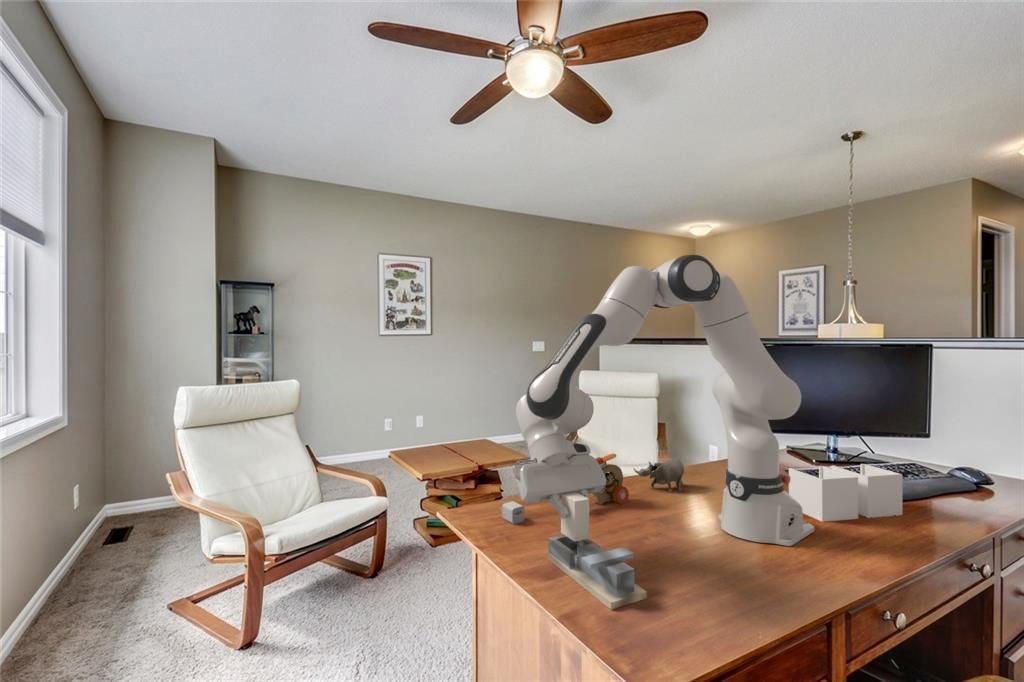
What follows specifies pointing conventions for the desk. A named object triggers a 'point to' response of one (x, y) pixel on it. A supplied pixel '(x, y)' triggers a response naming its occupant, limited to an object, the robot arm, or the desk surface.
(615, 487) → the toy helicopter
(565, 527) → the cream upright slab block
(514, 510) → the usb wall charger
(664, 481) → the rhinoceros figurine
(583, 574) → the jig
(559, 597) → the desk surface
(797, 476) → the storage container
